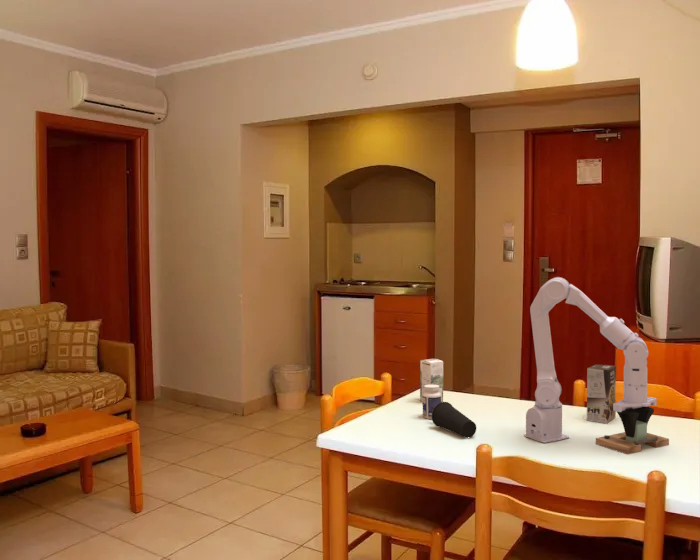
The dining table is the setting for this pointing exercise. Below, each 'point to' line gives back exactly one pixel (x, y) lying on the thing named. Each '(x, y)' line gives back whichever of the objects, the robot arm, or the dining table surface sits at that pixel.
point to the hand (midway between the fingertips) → (634, 435)
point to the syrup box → (431, 375)
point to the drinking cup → (452, 420)
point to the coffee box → (601, 393)
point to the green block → (639, 432)
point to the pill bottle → (430, 399)
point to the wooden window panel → (627, 447)
